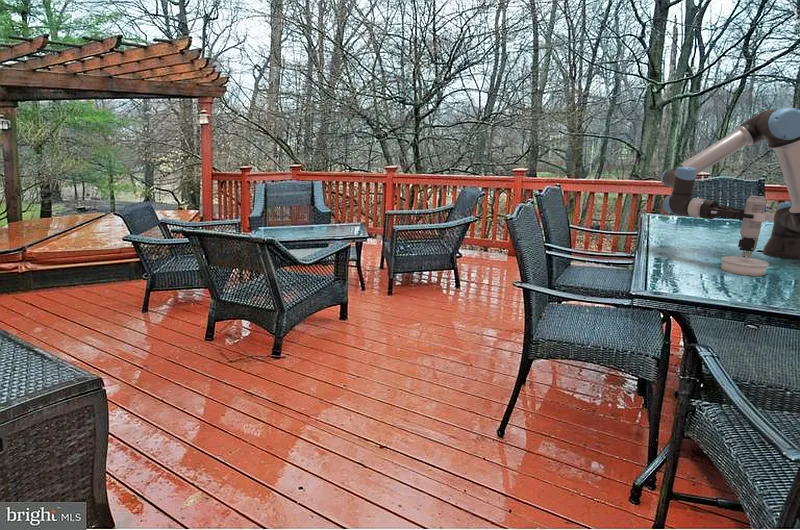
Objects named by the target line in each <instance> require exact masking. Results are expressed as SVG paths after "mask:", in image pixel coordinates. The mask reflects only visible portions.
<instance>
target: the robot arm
mask: <svg viewBox="0 0 800 530" xmlns="http://www.w3.org/2000/svg"><path fill="white" fill-rule="evenodd" d="M764 140H766V141H767V144H768V147H769V149H771V150H773V151H775V154H776V157H777V160H778V163H779V167H780V169H781V173H782V176H783V180H784V182H785V185H786V189H787V192H788V195H789V198H790V202H780V203H778V205H777V207H776V210H775V213H774V212H766V211H764V214H759V213H751V212H745V214H744V211H745V208H737V207H732V206H727V205H719V202H718V201H717V200H715V199H714V200H712V199H706V198H700V197H699V198H698V197H693V193H694V188H695V183H696V178H697V175H698V174H701V173H703V172H704V171H705V170H707V169H709V168H710V167H712V166H714V165H716V164H717V163H719V162H721V161H722V160H724V159H726V158H728V157H729V156H731V155H733V154H735V153H736V152H737V151H740V150H741V149H742V148H744V147H746V146H752V145H755V144H757V143H758V142H761V141H764ZM660 182H661V183H662V185H664V186H665V187H666V188H672V191H671V194H669V195H667V196H666V197H665V198H664V201H663V203H662V208H663V210H664V211H665V213H669V214H673V215H678V216H679V215H680V216H684V217H685V216H686V217H693V219H697V218H698V219H699V218H700V219H705V220H713V219H715V218H716V217H717V218H718V217H722V218H727V219H728V218H729V219H735V220H739V221H740V222H742V221H743V218H744V219H746V220H753V221H760V222H762V223H765V221H769V222H773V221H774V222H773V225H772V231H771V235H770V237H769V239H768V241H767V242H766V244H765V245H764V246H763V250H762V254H764V255H765V256H769V257H770V256H771V257H775V258H779V257H780V258H782V259H787V260H800V109H799V108H794V107H782V108H772V109H766V110H764V111H761V112H760V113H756V114H755V115H754V116H751V118H749V119H747V120H746V121H744V122H743V123H741V124H739V125H738V126H737V127H736V129H735V130H734V131H732V132H731V133H729V134H728V135H726V136H724V137H723V138H721V139H720V140H718V141H716V142H714V143H713V144H711V145H710V146H708V147H706V148H705V149H703V150H701V151H700V152H698V153H696V154H695V155H693V156H692V157H690V158H687V160H685V161H683V162H682V163H679V164H678V165H677V166H675V167H673V168H669V169H666V170H664V171H663V172H662V173H661V175H660Z"/></svg>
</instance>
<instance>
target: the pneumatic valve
mask: <svg viewBox="0 0 800 530" xmlns="http://www.w3.org/2000/svg"><path fill="white" fill-rule="evenodd" d="M758 242H759V236H757V238H747V237H742V236H741V238H740V239H739V240H738V245H737V246H738V247H737V248H739V251H742V252H741V255H740V257H747V258H752V255H753V252H754V251H755V250H757V246H758Z"/></svg>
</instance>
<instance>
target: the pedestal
mask: <svg viewBox="0 0 800 530" xmlns="http://www.w3.org/2000/svg"><path fill="white" fill-rule="evenodd" d="M747 257H748V256H745V257H741V256H735V255H727V256H726V255H725V256H722V257H721V259H720V260H721V261H722V262H721V266H720V267H721V268H720V269H721V270H722V271H724V272H727V273H731V274H734V273H735V274H734V275H739V274H741V275H740V276H747V275H750V276H749V277H763V276H762V275H764V276H766V273H767V269H768V268H767V267H769V266H770V263H769V262H767V261H765V260H761V259H757V258H752V257H751V258H747Z"/></svg>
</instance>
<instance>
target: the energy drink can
mask: <svg viewBox="0 0 800 530" xmlns="http://www.w3.org/2000/svg"><path fill="white" fill-rule="evenodd" d="M766 207H767V199H766V196H760V195H749V197H748V198H747V200H746V202H745V207H744V209H745V211H744V214H745V212H751V213H759V214H764V212H766ZM762 224H763V222H760V221H753V220H746V219H744V218H743V221H741V225H740V231H739V234H740V237H741V238H742V237H747V238H757V236H758V237H759V236H760V233H761V229H762Z"/></svg>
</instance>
